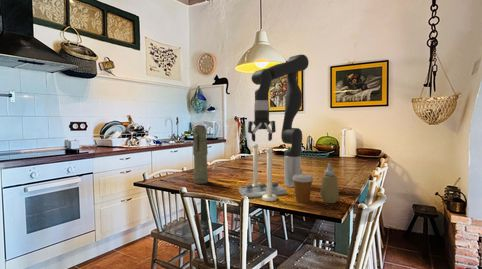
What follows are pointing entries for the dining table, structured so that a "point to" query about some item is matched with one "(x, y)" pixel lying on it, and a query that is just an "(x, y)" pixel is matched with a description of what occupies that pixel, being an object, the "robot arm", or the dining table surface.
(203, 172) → the thermos
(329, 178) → the squeeze bottle
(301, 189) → the disposable coffee cup
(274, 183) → the paddle
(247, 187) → the paddle
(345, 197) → the dining table surface
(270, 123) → the robot arm
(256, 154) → the far post
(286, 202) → the dining table surface
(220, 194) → the dining table surface
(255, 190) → the breaker panel
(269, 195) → the near post
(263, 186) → the middle paddle
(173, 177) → the dining table surface
